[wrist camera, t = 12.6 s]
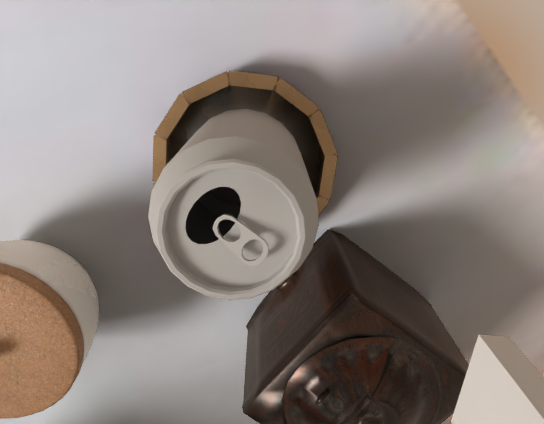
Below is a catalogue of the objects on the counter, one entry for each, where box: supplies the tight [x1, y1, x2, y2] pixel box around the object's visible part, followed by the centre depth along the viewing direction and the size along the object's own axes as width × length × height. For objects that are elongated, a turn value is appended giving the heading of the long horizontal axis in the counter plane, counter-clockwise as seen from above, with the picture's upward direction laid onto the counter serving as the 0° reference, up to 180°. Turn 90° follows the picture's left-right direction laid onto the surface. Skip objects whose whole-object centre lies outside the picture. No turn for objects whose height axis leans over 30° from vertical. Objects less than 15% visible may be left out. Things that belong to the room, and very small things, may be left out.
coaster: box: [153, 71, 338, 215], centre depth 29 cm, size 12×12×2 cm
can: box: [148, 109, 319, 300], centre depth 23 cm, size 8×8×12 cm
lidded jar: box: [0, 240, 99, 418], centre depth 28 cm, size 11×11×9 cm
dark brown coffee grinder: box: [242, 230, 469, 424], centre depth 26 cm, size 16×11×18 cm
